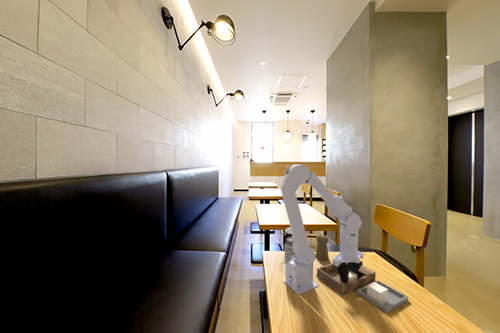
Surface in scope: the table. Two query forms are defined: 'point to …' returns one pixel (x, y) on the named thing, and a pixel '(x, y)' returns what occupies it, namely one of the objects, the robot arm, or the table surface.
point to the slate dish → (393, 298)
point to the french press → (288, 246)
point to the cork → (322, 248)
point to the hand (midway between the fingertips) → (348, 280)
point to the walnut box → (333, 279)
